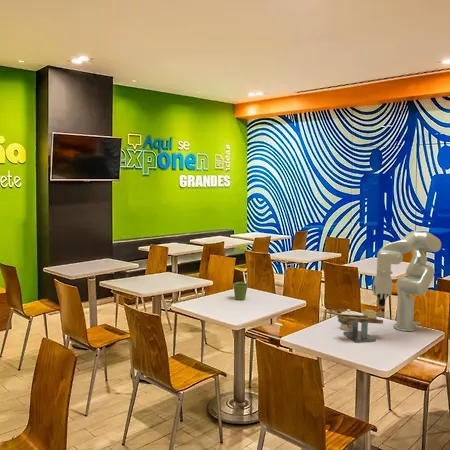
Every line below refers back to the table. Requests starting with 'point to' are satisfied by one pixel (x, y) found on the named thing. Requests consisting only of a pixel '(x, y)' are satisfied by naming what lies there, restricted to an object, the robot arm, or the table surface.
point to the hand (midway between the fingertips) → (381, 305)
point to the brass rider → (369, 314)
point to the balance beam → (355, 319)
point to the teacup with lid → (349, 326)
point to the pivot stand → (359, 333)
